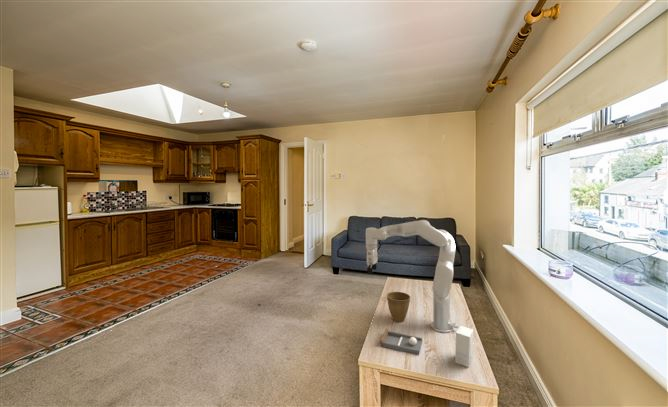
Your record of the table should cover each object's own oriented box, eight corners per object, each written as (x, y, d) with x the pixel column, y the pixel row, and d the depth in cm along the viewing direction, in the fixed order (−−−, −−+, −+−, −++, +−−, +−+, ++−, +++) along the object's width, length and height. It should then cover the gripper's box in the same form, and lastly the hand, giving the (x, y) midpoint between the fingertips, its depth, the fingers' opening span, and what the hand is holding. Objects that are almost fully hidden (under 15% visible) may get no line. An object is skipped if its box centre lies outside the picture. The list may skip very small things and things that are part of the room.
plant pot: (411, 326, 167) (411, 301, 166) (386, 324, 170) (386, 299, 169) (409, 315, 182) (409, 292, 181) (387, 313, 185) (386, 290, 184)
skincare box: (459, 354, 138) (459, 325, 137) (473, 359, 134) (474, 329, 133) (454, 362, 132) (454, 331, 131) (469, 368, 127) (469, 336, 127)
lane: (422, 341, 150) (422, 335, 150) (419, 355, 138) (419, 348, 138) (386, 334, 158) (386, 328, 158) (380, 346, 147) (380, 339, 146)
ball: (417, 343, 147) (417, 336, 147) (416, 347, 143) (416, 340, 143) (409, 341, 148) (409, 334, 148) (408, 345, 145) (408, 338, 145)
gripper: (373, 249, 170) (373, 276, 171) (380, 244, 185) (380, 268, 186) (361, 248, 173) (362, 274, 174) (370, 243, 189) (370, 267, 190)
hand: (372, 271), depth 180 cm, fingers open, 9 cm apart
